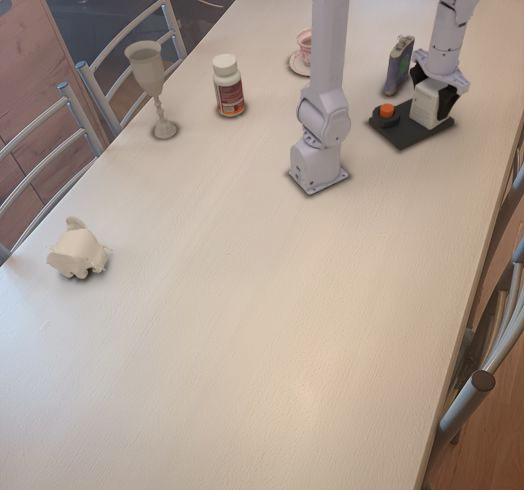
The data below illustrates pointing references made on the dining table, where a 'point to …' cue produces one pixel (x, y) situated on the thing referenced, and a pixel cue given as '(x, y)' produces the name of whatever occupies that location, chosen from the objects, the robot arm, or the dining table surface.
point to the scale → (404, 126)
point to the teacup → (302, 53)
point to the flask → (399, 64)
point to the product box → (427, 103)
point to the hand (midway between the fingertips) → (430, 110)
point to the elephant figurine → (77, 251)
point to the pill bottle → (228, 85)
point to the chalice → (150, 79)
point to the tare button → (386, 110)
